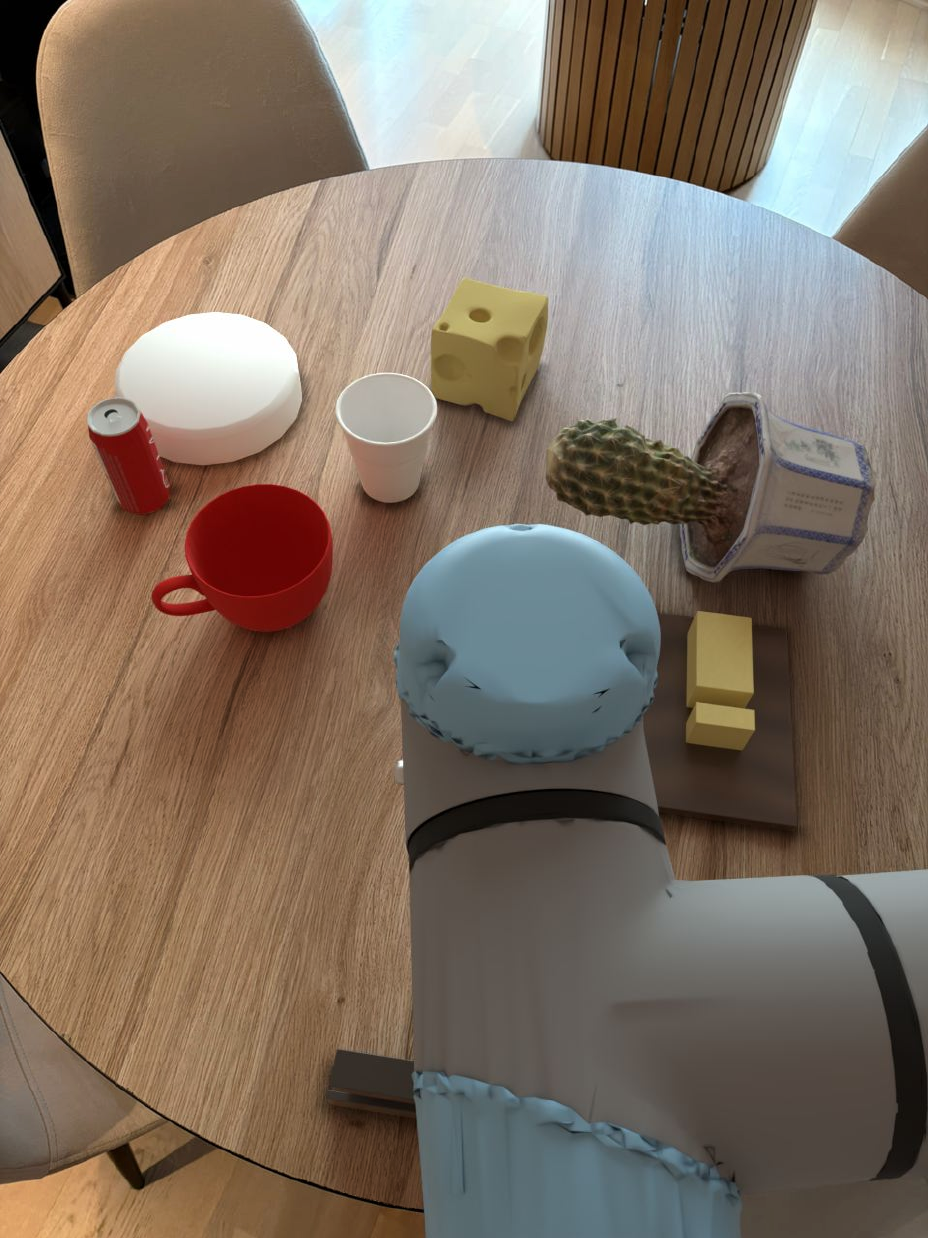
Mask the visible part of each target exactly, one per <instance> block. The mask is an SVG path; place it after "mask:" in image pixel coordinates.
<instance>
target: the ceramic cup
mask: <svg viewBox="0 0 928 1238" xmlns="http://www.w3.org/2000/svg"><path fill="white" fill-rule="evenodd" d="M331 528H332V527H331V524H330V522H329V519H328V517H327V515H326V513H325V511H324V510H323V509H322V507H321V506H320V505H319V504H318V502H316V501H315V500H313V498H311V497H310V496H309V495H307V494H305V493H303V492H301V491H300V490H297V489H295V488H292V487H289V486H285V485H280V484H274V483H256V484H249V485H244V486H240V487H237V488H233V489H230V490H228V491H226V492H224V493H221V494H220V495H218V496H216V497H215V498H213V499H212V500H210V501H209V502H207V503H206V504H205V506H203V507H202V508H201V509H200V510H199V511H198V512H197V514H196V515H195V516H194V518H193V519H192V521H191V522H190V524H189V527H188V529H187V531H186V534H185V540H184V555H185V559H186V562H187V566H188V568H189V571H190V573H191V574H185V575H176V576H171V577H169V578H168V577H167V578H165V579H164V580H162V581H160V582H158V583H157V584H156V585H155V586H154V587H153V590H152V591H151V600H152V601H151V602H152V604H153V606H154V607H155V608H156V610H157V611H159V612H160V613H162V614H164V615H168V616H172V617H189V616H194V615H200V614H204V613H208V612H214V611H216V612H217V613H218V614H219V615H221V616H222V618H224V619H226V620H227V621H229V622H230V623H233V624H234V625H236V626H238V627H241V628H243V629H247V630H249V631H255V632H276V631H282V630H286V629H288V628H292V627H294V626H296V625H298V624H299V623H301V622H302V621H304V620H305V619H307V618H308V617H309V616H310V615H311V614H312V613H313V612H314V611H315V610H316V609H317V608H318V607H319V605H320V604H321V602H322V600H323V599H324V597H325V595H326V593H327V591H328V588H329V585H330V582H331V578H332V572H333V561H334V559H333V558H334V540H333V535H332V529H331ZM181 589H191V590H193V591H195V592H197V593H199V594H200V595H201V596H203V597H205V598H203V599H200V600H195V601H190V602H183V603H171V602H166V601H163V600H162V599H163V598H164V597H165V596H166V595H168V594H169V593H172V592H175V591H177V590H181Z"/></svg>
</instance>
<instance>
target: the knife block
mask: <svg viewBox="0 0 928 1238" xmlns="http://www.w3.org/2000/svg"><path fill="white" fill-rule="evenodd" d="M333 1067H334V1064H332V1067H331V1071H330V1073H331V1074H330V1076H329V1082H328V1086H327V1091H326V1097H325V1099H326V1100H327V1102H328V1103H329V1104H330V1105H332V1106H336V1107H343V1108H350V1109H355V1110H362V1111H368V1112H373V1113H380V1114H386V1115H393V1116H397V1117H404V1118H409V1119H416V1120H417V1116H416V1104H412V1103H406V1102H400V1101H394V1100H388V1099H382V1098H375V1097H369V1096H363V1095H357V1094H351V1093H344V1092H338V1091H333V1090H332V1088H331V1087H330V1082H331V1077H332V1072H333Z"/></svg>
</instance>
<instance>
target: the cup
mask: <svg viewBox="0 0 928 1238" xmlns="http://www.w3.org/2000/svg"><path fill="white" fill-rule="evenodd" d="M334 412H335V418H336V421H337V424H338V425H339V427H340V429H341V430H342V432H343V434H344V435H343V436H344V438H345V440H346V441H345V442H346V443H347V446H348V449H349V452H350V454H351V457H352V460H353V463H354V466H355V469H356V472H357V476H358V478H359V480H360V483H361V486H362V489H363V490H364V493H366V495H368V496H369V497H370V498H372V499H373V500H375V501H378V502H382V503H387V504H390V503H399V502H403V501H405V500H407V499H408V498H411V497H412V496H413V495H414V494H415V493H416V492H417V490H418V488H419V486H420V482H421V479H422V474H423V468H424V464H425V459H426V455H427V451H428V450H427V449H428V445H429V441H430V438H431V433H432V428H433V425H434V423H435V421H436V418H437V415H438V404H437V400H436V398H435V397H434V395H433V394H432V390H430V388H429V387H428V386H427V385H425V384H424V383H423V382H421V381H419V380H418V379H416V378H414V377H411V376H409V375H405V374H401V373H398V372H397V373H396V372H380V373H379V372H378V373H373V374H368V375H364V376H363V377H360V378H358V379H356V380H354V381H353V382H351V383H350V384H348V385H347V386H346V387H345V388H344V389H343V390H342V391H341V392H340V394H339V395H338V398H337V400H336V402H335V408H334Z"/></svg>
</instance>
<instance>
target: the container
mask: <svg viewBox="0 0 928 1238" xmlns="http://www.w3.org/2000/svg"><path fill="white" fill-rule="evenodd" d="M300 376H301V375H300V372H299V365H298V359H297V354H296V352H295V351H294V349H293V347H292V346H291V344H290V343H289V341H288V339H287V338H286V337H285V336H284V335H283V334H281V333H280V332H278V331H277V330H275V329H274V328H272V327H271V326H270V325H269V324H267V323H266V322H263V321H261V320H258V319H255V318H252V317H250V316H247V315H244V314H240V313H239V314H238V313H228V312H220V311H212V312H203V313H192V314H187V315H184V316H180V317H177V318H174V319H171V320H167V321H164V322H163V323H161V324H159V325H157V326H156V327H154V328H152V329H150V330H149V331H147V332H145V333H143V334H142V335H141V336H140V337H139V338H138V339H137V340H136V341H134V343H133V344H132V345H130V347H129V348H128V349H127V350H126V351H125V352H124V353H123V355H122V358H121V359H120V361H119V364H118V366H117V367H116V370H115V372H114V390H113V391H114V393H113V394H114V396H115V397H121V398H127V399H130V400H132V401H133V402H135V404H136V405H137V407H138V408H139V410H140V411H141V412H142V414H143V415H144V417H145V419H146V421H147V422H148V425H149V428H150V431H151V434H152V437H153V439H154V442H155V445H156V448H157V451H158V453H159V456H160V458H163V459H166V460H168V461H171V462H172V463H177V464H185V465H186V464H187V465H188V464H189V465H196V466H210V465H219V464H227V463H234V462H236V461H240V460H242V459H245V458H247V457H250V456H253V455H256V454H258V453H261V452H262V451H264V450H265V449H266V448H268V447H269V446H271V445H272V444H274V443H275V442H277V441H278V440H280V439H281V438H282V437H283V436H284V435H285V434H286V433H287V431H288V430H289V429H290V428H291V426H292V425H293V424H294V422H295V421H297V419H298V414H299V413H300V408H301V405H302V403H303V392H302V384H301V378H300Z"/></svg>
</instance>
